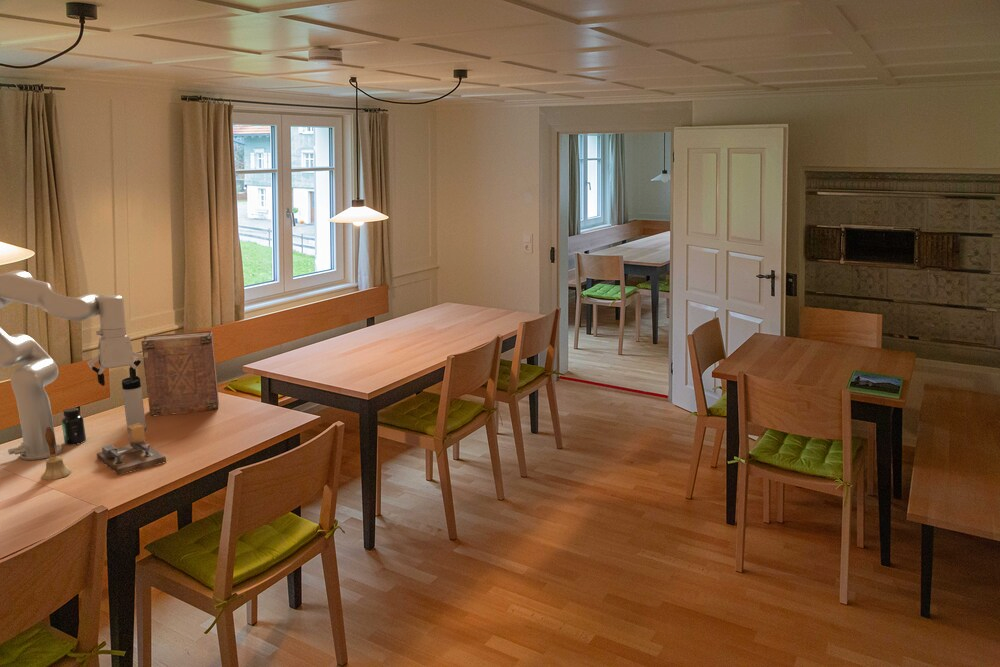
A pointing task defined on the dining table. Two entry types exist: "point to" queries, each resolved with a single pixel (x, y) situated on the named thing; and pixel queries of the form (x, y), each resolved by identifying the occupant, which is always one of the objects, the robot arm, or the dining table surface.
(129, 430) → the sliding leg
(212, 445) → the dining table surface
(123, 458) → the gauge plate
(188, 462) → the dining table surface
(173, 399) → the book
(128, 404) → the travel mug
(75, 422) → the supplement bottle
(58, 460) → the hand bell
